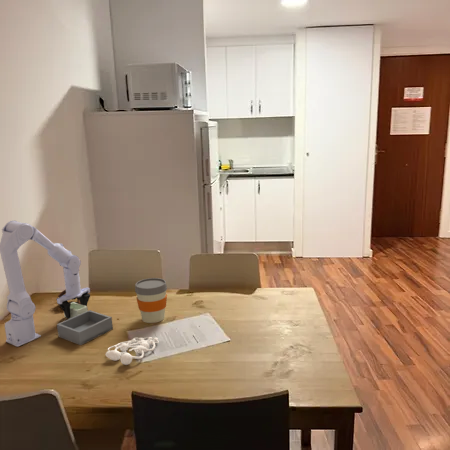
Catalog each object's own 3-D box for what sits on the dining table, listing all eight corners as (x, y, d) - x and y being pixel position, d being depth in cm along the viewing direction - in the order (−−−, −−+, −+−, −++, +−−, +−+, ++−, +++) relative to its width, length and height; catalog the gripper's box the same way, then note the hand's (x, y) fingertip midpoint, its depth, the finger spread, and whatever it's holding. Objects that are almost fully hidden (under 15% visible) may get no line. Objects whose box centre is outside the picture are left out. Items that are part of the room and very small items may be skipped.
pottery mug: (82, 308, 193) (70, 295, 190) (63, 318, 194) (51, 305, 191) (86, 292, 204) (75, 279, 200) (69, 301, 205) (57, 288, 201)
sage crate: (78, 322, 178) (77, 310, 177) (64, 317, 183) (63, 306, 182) (88, 317, 182) (87, 306, 181) (74, 313, 187) (73, 302, 186)
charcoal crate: (80, 345, 159) (79, 332, 158) (58, 336, 167) (56, 324, 166) (112, 329, 171) (111, 317, 170) (90, 321, 179) (89, 310, 177)
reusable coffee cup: (152, 327, 171) (150, 291, 168) (131, 320, 179) (127, 284, 176) (175, 316, 181) (173, 281, 178) (153, 309, 188) (151, 275, 185)
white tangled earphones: (140, 338, 166) (138, 328, 165) (169, 345, 158) (167, 334, 157) (99, 360, 150) (97, 349, 150) (129, 368, 142) (127, 356, 141)
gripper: (63, 290, 172) (67, 323, 175) (93, 279, 183) (96, 310, 186) (52, 287, 176) (56, 319, 179) (82, 276, 187) (85, 306, 190)
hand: (76, 314), depth 183 cm, fingers open, 7 cm apart
